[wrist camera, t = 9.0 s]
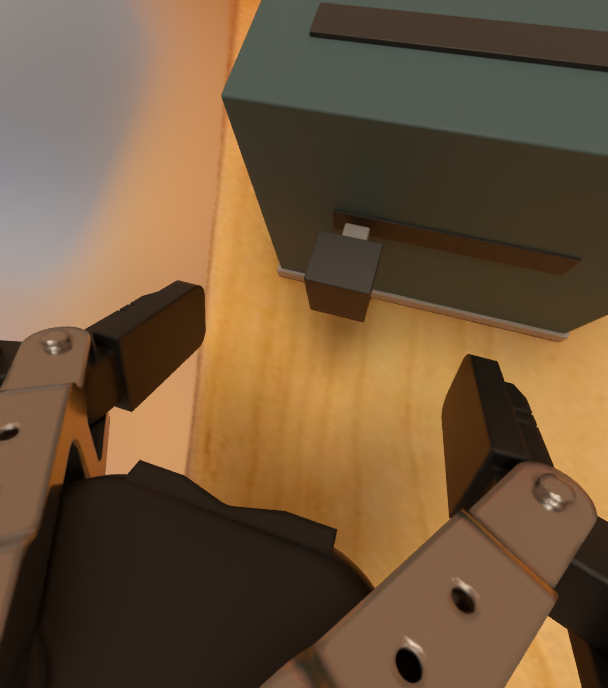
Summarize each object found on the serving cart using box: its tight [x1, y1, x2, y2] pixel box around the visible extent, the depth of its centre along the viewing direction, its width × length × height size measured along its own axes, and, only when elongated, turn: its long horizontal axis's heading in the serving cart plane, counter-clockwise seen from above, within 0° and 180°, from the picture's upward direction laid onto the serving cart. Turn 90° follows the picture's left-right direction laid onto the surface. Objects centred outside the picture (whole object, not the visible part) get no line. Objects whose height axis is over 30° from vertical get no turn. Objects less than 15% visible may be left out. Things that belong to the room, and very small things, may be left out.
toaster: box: [222, 0, 608, 342], centre depth 16 cm, size 10×16×12 cm, turn 73°
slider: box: [304, 223, 384, 322], centre depth 14 cm, size 3×2×3 cm
